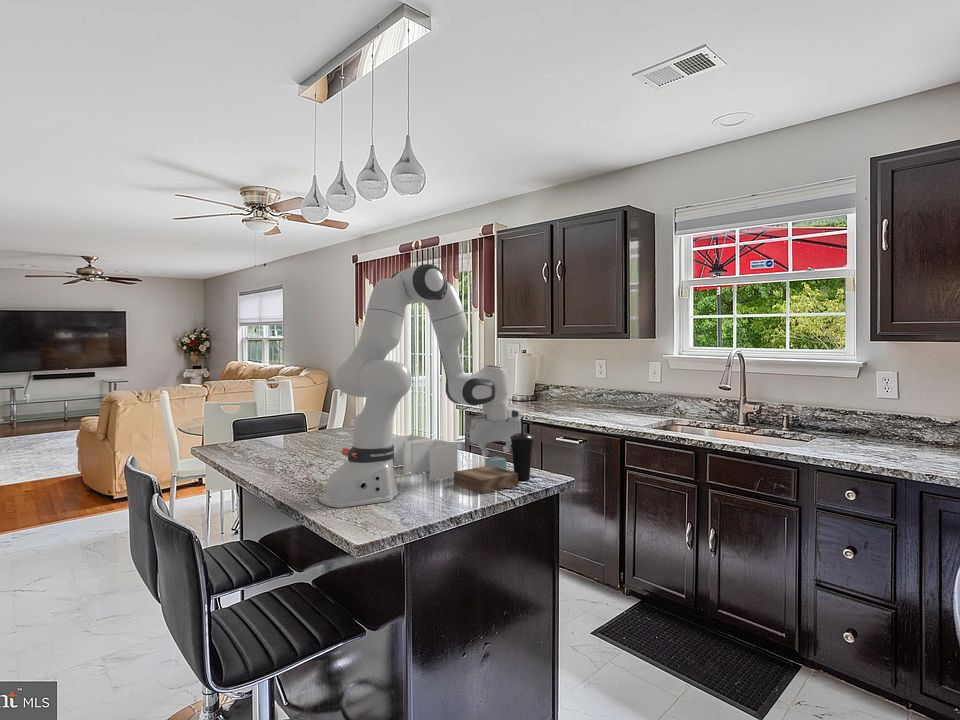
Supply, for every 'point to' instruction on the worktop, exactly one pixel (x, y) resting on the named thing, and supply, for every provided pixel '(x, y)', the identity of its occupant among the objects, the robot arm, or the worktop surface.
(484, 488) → the walnut base
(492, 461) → the teal cube
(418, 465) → the storage container
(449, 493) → the worktop surface
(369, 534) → the worktop surface
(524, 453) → the drinking cup
